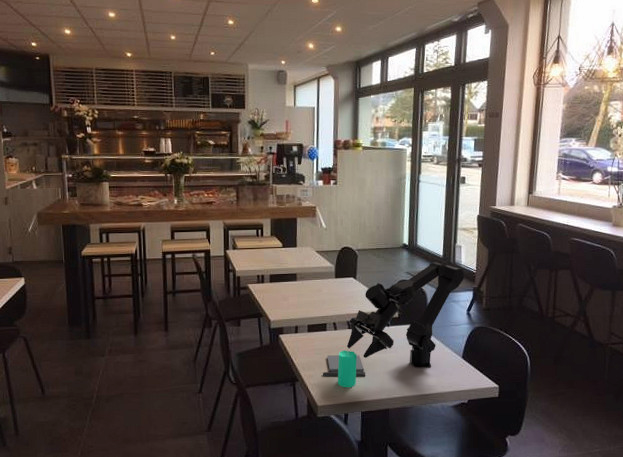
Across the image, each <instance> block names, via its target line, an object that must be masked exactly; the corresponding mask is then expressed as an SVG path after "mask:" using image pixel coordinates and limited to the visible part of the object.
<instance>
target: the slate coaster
mask: <svg viewBox="0 0 623 457" xmlns="http://www.w3.org/2000/svg"><path fill="white" fill-rule="evenodd" d="M356 355H357V360H356V372H365V369H364V365H363V363H362V359H361V357H360V354H359V355H358V354H356ZM326 357H327V362H328V363H327V365H328V369H329V372H338V363H339V354H338V355H336V354H335V355H331V354H330V355H328V354H327V356H326Z"/></svg>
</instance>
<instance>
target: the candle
mask: <svg viewBox="0 0 623 457" xmlns="http://www.w3.org/2000/svg"><path fill="white" fill-rule="evenodd" d="M338 355H339V363H338V376H337V385H338V386H340V387H344V388H352V387H354V386H356V382H357V380H356V379H357V376H356V360H357V355H358V354H357V353H356V352H354V350H353V351H352V350H351V351H349V350H341V351H340V352H339V353H338Z"/></svg>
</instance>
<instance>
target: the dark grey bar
mask: <svg viewBox="0 0 623 457" xmlns="http://www.w3.org/2000/svg"><path fill="white" fill-rule="evenodd" d="M322 376H323V377H338V372H330V371H328V372H327V371H326V372H325V371H324V372H322ZM356 377H366V372H365V371H364V372H356Z"/></svg>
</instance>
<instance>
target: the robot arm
mask: <svg viewBox="0 0 623 457" xmlns="http://www.w3.org/2000/svg"><path fill="white" fill-rule="evenodd" d="M464 278H465V275H464V271H463V269H461V268H458V267H456V266H455V267H454V266H452V265H444V264H441V263H438V262H430V263H429V265H428V266H427V267H425V268H423V269H422V270H421V271H419V272H418V273H416V274H414V275H413V276H412V277H410V278H409V279H407V280H405V281H404V280H403V281H399V282H397V283H395V284H392V285H391V286H389V287H388V288H385V286H383V284H382V283H380V282H377V283H376V285H373V286H370V287H369V288H367V290H366V291H365V298H366V299H367V300H368V301H369V302H370V304H371V305H372V306H374V308H376V311H375V312H374V311H371V312H370V313H367V312H364V311H362V310H360V309H359V310H358V311H357V314H356V317H351V319H350V320H349V322H348V323H349V327H350V329H351V330H350V332H351V333H350V337H349V339H348V342H347V348H348V349H351V348H352V347H353V346H355V345H356V343H358V342H359V341H360V340H361V339H362V338H363V337H364V334H368V335H370V336H372V337H371V339H372V340H371V343H370V345H369V346H368V347H367V349H366V350H365V352H364V354H363V355H362V356H363V358H364V359H366V358H368V357H371V356H372V355H374V354H376V353H378V352H381V351H383V350H387V349H392V347H393V345H394V343H395V342H394V339H393V338H392V337H391V336H390V334H388V333H387V332H385V331H384V330H385V328H386V327H387V328H390V326H391V324H390V322H391V320H392V319H393V318H394V316H396V314H399V315H402V314H403V311H402V310H403V309H402V306H401V305H407V304H408V303H410V301H411V300H413V299H414V297H415V294H416V292H417V291H419V290H420V289H422V288H423V287H425V286H426V285H427V284H429V283H431V282H433V280H435V279H437V287H436V288H435V290H434V293H433V294H432V296H431V297H430V300H429V302H428V303H427V305H426V307H425V309H424V311H423V313H422V314H421V317H420V318H419V319H418V320H417V321H415V320H412V321H411V322H410V324H409V326H408V328H406V334H405V336H406V340H407V342H408V345H409V346H411V349H410V351H409V361H410V363H411V364H412V367H413V368H421V367H422V368H423V367H424V368H431V367H432V364H431V355H432V354H431V353H432V351H433V352H434V351H435V348H436V343H435V342H434V341H433V340H432V337H433V325H434V324H435V322H436V320H437V318H438V317H439V315H440V312H441V311H442V308H443V306H444V305H445V304H446V301H447V299H448V298H449V296H450V294H451V292H452V291H454V290H456V289H458V288H459V287H460V285H461V284H462V282H463V281H464ZM397 303H398V304H397ZM399 304H401V305H399Z"/></svg>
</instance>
